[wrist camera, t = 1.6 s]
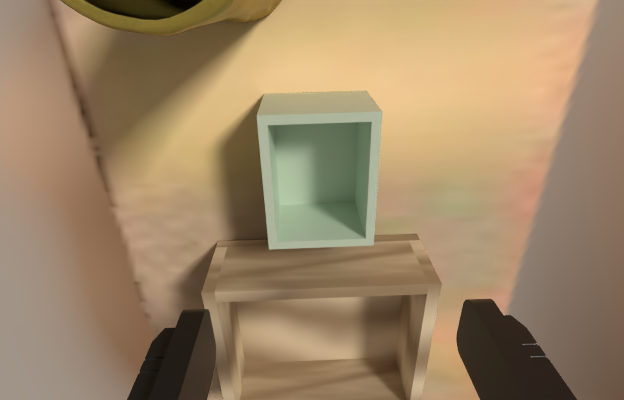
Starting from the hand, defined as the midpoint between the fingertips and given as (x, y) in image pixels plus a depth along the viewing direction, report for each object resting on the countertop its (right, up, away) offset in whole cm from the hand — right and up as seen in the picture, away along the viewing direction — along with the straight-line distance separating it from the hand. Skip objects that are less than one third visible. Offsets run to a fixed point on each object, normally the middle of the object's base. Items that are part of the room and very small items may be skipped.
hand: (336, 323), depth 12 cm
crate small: (0, +7, +13) cm, 15 cm away
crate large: (0, -5, +19) cm, 19 cm away
